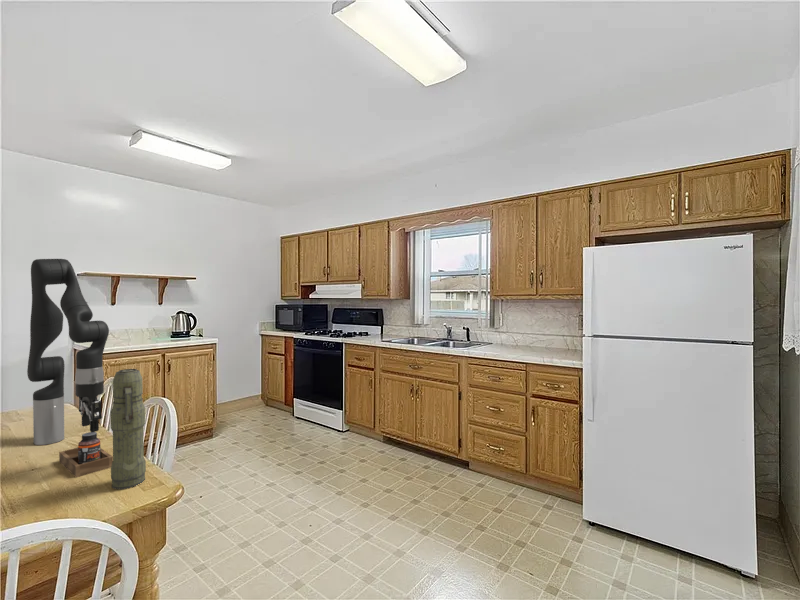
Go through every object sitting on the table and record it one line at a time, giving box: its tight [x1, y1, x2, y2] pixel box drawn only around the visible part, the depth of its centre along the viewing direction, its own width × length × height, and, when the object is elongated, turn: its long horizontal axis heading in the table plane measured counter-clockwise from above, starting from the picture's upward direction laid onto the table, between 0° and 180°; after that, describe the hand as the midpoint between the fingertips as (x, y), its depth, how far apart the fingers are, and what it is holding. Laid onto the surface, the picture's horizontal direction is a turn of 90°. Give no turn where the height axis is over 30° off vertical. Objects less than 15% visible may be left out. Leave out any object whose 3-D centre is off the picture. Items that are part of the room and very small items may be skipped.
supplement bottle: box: [77, 431, 101, 465], centre depth 136 cm, size 6×6×11 cm
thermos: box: [110, 368, 147, 490], centre depth 125 cm, size 9×12×35 cm
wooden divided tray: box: [58, 447, 113, 478], centre depth 139 cm, size 19×10×4 cm, turn 52°
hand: (90, 428), depth 136 cm, fingers open, 8 cm apart
